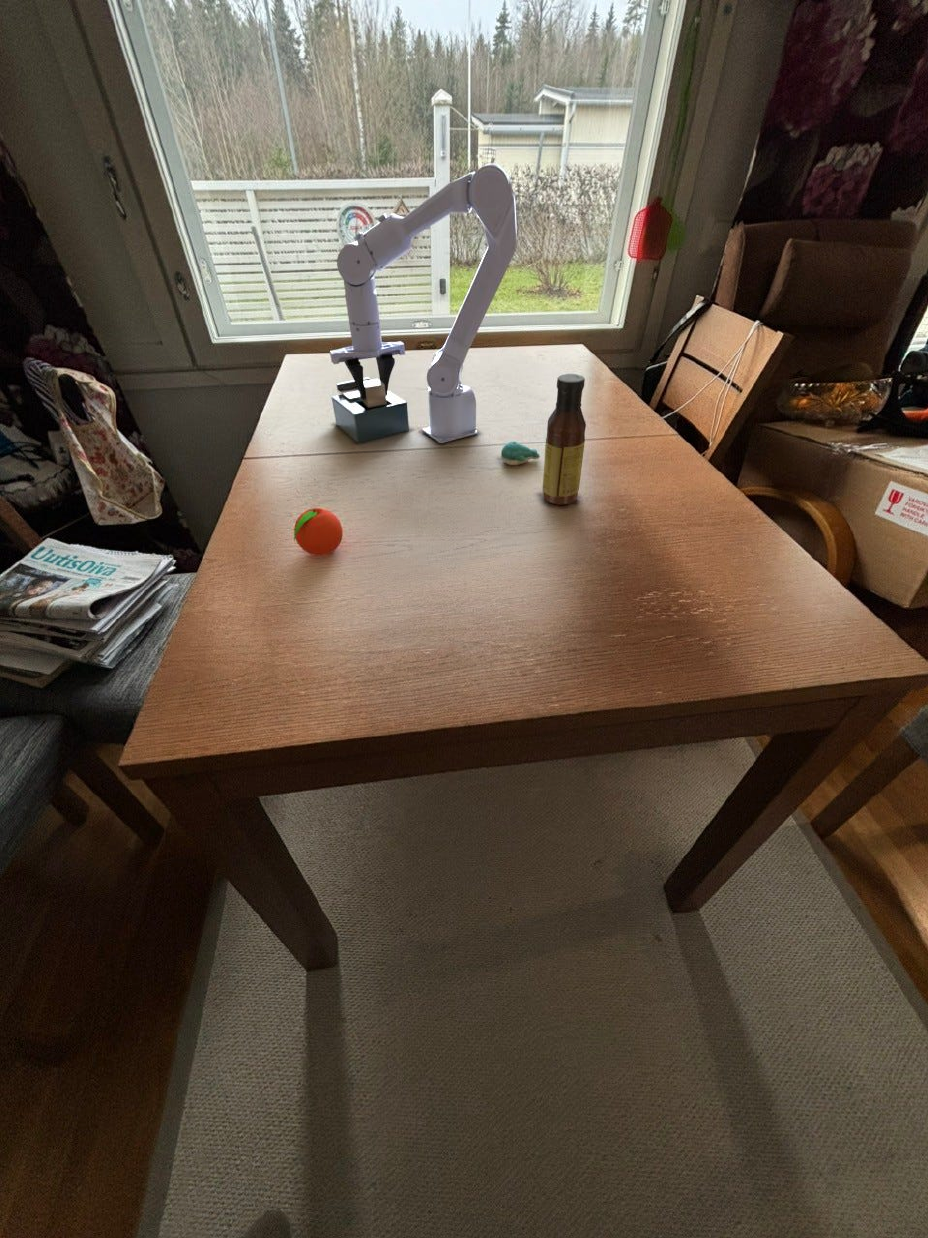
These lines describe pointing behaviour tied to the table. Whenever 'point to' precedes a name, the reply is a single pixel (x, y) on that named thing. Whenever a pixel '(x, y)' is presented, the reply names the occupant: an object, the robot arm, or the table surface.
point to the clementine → (318, 531)
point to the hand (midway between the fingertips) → (373, 396)
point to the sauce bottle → (565, 442)
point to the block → (374, 393)
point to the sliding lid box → (371, 417)
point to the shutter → (349, 389)
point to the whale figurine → (517, 453)
